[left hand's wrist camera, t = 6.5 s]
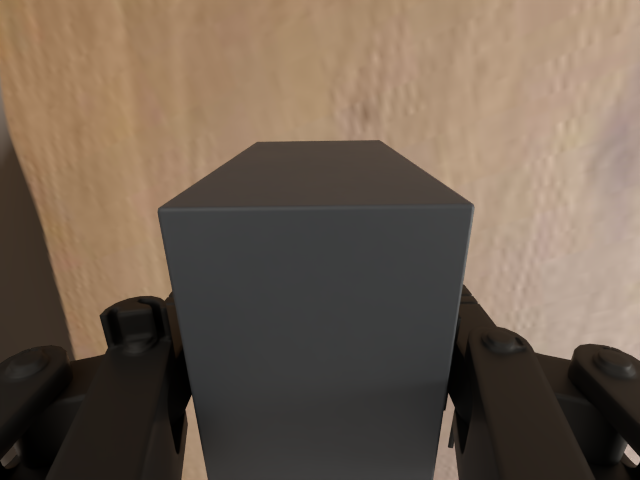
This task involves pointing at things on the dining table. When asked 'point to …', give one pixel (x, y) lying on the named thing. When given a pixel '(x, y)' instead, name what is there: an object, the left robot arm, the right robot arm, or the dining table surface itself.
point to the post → (318, 310)
